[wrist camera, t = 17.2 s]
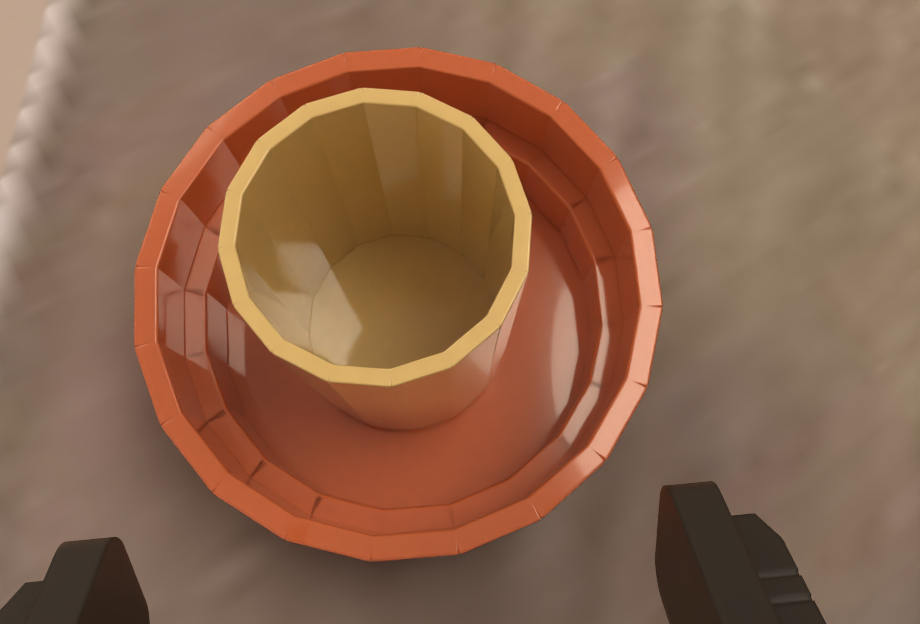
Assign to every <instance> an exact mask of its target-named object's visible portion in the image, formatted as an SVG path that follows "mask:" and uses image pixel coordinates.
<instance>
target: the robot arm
mask: <svg viewBox="0 0 920 624" xmlns="http://www.w3.org/2000/svg"><path fill="white" fill-rule="evenodd" d="M655 565H656V575H657V582H658V587H659V592H660V595H661V599H662V602H663V605H664V608H665V611H666V614H667V617H668V620H669V623H670V624H826V623H825V621H824V619H823V617H822V615H821V613H820V611H819V609H818V607H817V605H816V603H815V601H812V599H811V593H810V591H809V589H808V588H807V586H806V584H805V582H804V580H803V578H802V576H801V575H800V576H799V573H798V568H797V566H796V564H795V562H794V560H793V558H792V556H791V554H790V552H789V551H788V549H787V547H786V545H785V543H784V541H783V539H782V538H781V537H780V536H779V535H778V534H777V533H776V532H775V531H773V530H772V529H771V528H770V527H769V526H768V525H767V524H766V523H765V522H764V521H762V520H761V519H760V518H759V517H758V516H757V515H756V514H755V513H754V514H744V515H734V516H731V514H730V512H729V509H728V507H727V505H726V503H725V501H724V499H723V496H722V494H721V492H720V490H719V488H718V486H717V485H716V484H715V483H714V482H713V481H709V482H698V483H688V484H678V485H667V486H663V487H662V489H661V492H660V503H659V515H658V527H657V540H656V552H655ZM0 624H150V621H149V611H148V607H147V603H146V600H145V598H144V595H143V593H142V590H141V588H140V585H139V582H138V580H137V577H136V575H135V572H134V570H133V567H132V565H131V562H130V559H129V557H128V554H127V552H126V549H125V547H124V544H123V542H122V541H121V540H120V539H119V538H117V537H110V538H100V539H90V540H79V541H69V542H64V543H62V544H61V545H60V546H59V548H58V549H57V551H56V553H55V555H54V557H53V559H52V562H51V564H50V566H49V569H48V571H47V573H46V576H45V578H44V580H43V581H38V582H28V583H25V584H24V585H23V586H22V587H21V588H20V589H19V590H18V591H17V592H16V594H15V595H14V596H13V597H12V598H11V599H10V600H9V601H8V602H7V603H6V604H5V606H4V607H3V608H2V609H1V610H0Z"/></svg>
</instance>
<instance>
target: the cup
mask: <svg viewBox="0 0 920 624" xmlns="http://www.w3.org/2000/svg"><path fill="white" fill-rule="evenodd" d="M531 229H532V212H531V209H530V206H529V203H528V201H527V198H526V195H525V192H524V189H523V187H522V184H521V181H520V178H519V176H518V173H517V170H516V167H515V165H514V162H513V160H512V159H511V157H510V156H509V155H508V154H507V153H506V152H505V151H504V150H503V149H502V147H501V146H500V145H499V144H498V143H497V142H496V141H495V140H494V139H493V138H492V137H491V136H490V134H489V133H488V132H487V131H486V130H485V129H484V128H483V127H482V126H481V125H480V124H479V123H478V122H477V120H476V119H475V118H473V117H472V116H470V115H468V114H466V113H464V112H462V111H460V110H457V109H455V108H453V107H451V106H449V105H447V104H445V103H443V102H440V101H438V100H436V99H434V98H432V97H430V96H428V95H426V94H424V93H420V92H415V91H401V90H388V89H375V88H362V89H361V88H358V89H354V90H351V91H348V92H344V93H341V94H337V95H334V96H330V97H327V98H324V99H320V100H317V101H313V102H310V103H306V104H305V105H302V106H301V107H300V108H299V109H297V110H296V111H295V112H293V113H292V114H291V115H289V116H288V117H287V118H285V119H284V120H283V121H281V122H280V123H279V124H277V125H276V126H275V127H273V128H272V129H271V130H269V131H268V132H267V133H265V134H264V135H263V136H261V137H260V138H259V139H258V141H256V142H255V144H254V146H253V147H252V149H251V151H250V152H249V154H248V155H247V157H246V159H245V160H244V162H243V164H242V165H241V167H240V169H239V170H238V172H237V173H236V175H235V177H234V178H233V180H232V182H231V183H230V185H229V187H228V188H227V191H226V195H225V201H224V208H223V215H222V221H221V228H220V235H219V241H218V253H219V257H220V260H221V264H222V268H223V271H224V275H225V279H226V282H227V286H228V290H229V293H230V297H231V301H232V304H233V305H234V308H235V309H236V311H237V312H238V313H239V314H240V315H241V317H242V318H243V319H244V320H245V322H246V323H247V324H248V325H249V327H250V328H251V329H252V330H253V331H254V333H255V334H256V335H257V336H258V338H259V339H260V340H261V341H262V342H263V344H264V345H265V346H266V347H267V349H268V350H269V351H270V352H271V353H272V354H273V355H274V356H276V357H277V358H278V359H279V360H280V361H281V362H283V363H284V364H285V365H286V366H287V367H288V368H290V369H291V370H292V371H293V372H294V373H295V374H297V375H298V376H299V377H300V378H301V379H303V380H304V381H305V382H306V383H307V384H308V385H310V386H311V387H312V388H313V389H314V390H315V391H317V392H318V393H319V394H320V395H321V396H322V397H324V398H325V399H326V400H327V401H328V402H329V403H331V404H332V405H333V406H334V407H336V408H337V409H339V410H341V411H343V412H345V413H347V414H348V415H350V416H352V417H353V418H355V419H357V420H360V421H362V422H364V423H366V424H368V425H371V426H377V427H380V428H387V429H393V430H409V429H418V428H424V427H427V426H431V425H435V424H437V423H440V422H443V421H445V420H447V419H449V418H451V417H453V416H455V415H456V414H458V413H460V412H461V411H462V410H464V409H465V408H466V407H468V406H469V405H470V404H471V403H472V402H473V401H474V400H475V399H476V398H477V397H478V396H479V395H480V394H481V393H482V392H483V391H484V390H485V388H487V386H488V384H489V382H490V380H491V379H492V377H493V375H494V374H495V371H496V369H497V366H498V364H499V362H500V360H501V358H502V356H503V354H504V352H505V348H506V345H507V342H508V338H509V335H510V332H511V328H512V325H513V322H514V319H515V315H516V312H517V309H518V305H519V302H520V299H521V295H522V292H523V289H524V285H525V282H526V279H527V276H528V272H529V260H530V244H531Z"/></svg>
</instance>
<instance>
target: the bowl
mask: <svg viewBox="0 0 920 624" xmlns="http://www.w3.org/2000/svg"><path fill="white" fill-rule="evenodd" d="M358 88H361V89H362V88H375V89H388V90H401V91H415V92H420V93H424V94H426V95H428V96H430V97H432V98H434V99H436V100H438V101H440V102H443V103H445V104H447V105H449V106H451V107H453V108H455V109H457V110H460V111H462V112H464V113H466V114H468V115H470V116H472V117H473V118H475V119H476V120H477V122H478V123H479V124H480V125H481V126H482V127H483V128H484V129H485V130H486V131H487V132H488V133H489V134H490V136H491V137H492V138H493V139H494V140H495V141H496V142H497V143H498V144H499V145H500V146H501V147H502V149H503V150H504V151H505V152H506V153H507V154H508V155H509V156H510V157H511V159H512V160H513V162H514V165H515V167H516V170H517V173H518V176H519V178H520V181H521V184H522V187H523V189H524V192H525V195H526V198H527V201H528V203H529V206H530V209H531V212H532V229H531V244H530V260H529V272H528V276H527V279H526V282H525V285H524V289H523V292H522V295H521V299H520V302H519V305H518V309H517V312H516V315H515V319H514V322H513V325H512V328H511V332H510V335H509V338H508V342H507V345H506V348H505V352H504V354H503V356H502V358H501V360H500V362H499V364H498V366H497V369H496V371H495V374H494V375H493V377H492V379H491V380H490V382H489V384H488V386H487V388H485V390H484V391H483V392H482V393H481V394H480V395H479V396H478V397H477V398H476V399H475V400H474V401H473V402H472V403H471V404H470V405H469V406H468V407H466V408H465V409H464V410H462V411H461V412H460V413H458V414H456V415H455V416H453V417H451V418H449V419H447V420H445V421H443V422H440V423H437V424H435V425H431V426H427V427H424V428H418V429H409V430H393V429H387V428H380V427H377V426H371V425H368V424H366V423H364V422H362V421H360V420H357V419H355V418H353V417H352V416H350V415H348V414H347V413H345V412H343V411H341V410H339V409H337V408H336V407H334V406H333V405H332V404H331V403H329V402H328V401H327V400H326V399H325V398H324V397H322V396H321V395H320V394H319V393H318V392H317V391H315V390H314V389H313V388H312V387H311V386H310V385H308V384H307V383H306V382H305V381H304V380H303V379H301V378H300V377H299V376H298V375H297V374H295V373H294V372H293V371H292V370H291V369H290V368H288V367H287V366H286V365H285V364H284V363H283V362H281V361H280V360H279V359H278V358H277V357H276V356H274V355H273V354H272V353H271V352H270V351H269V350H268V349H267V347H266V346H265V345H264V344H263V342H262V341H261V340H260V339H259V338H258V336H257V335H256V334H255V333H254V331H253V330H252V329H251V328H250V327H249V325H248V324H247V323H246V322H245V320H244V319H243V318H242V317H241V315H240V314H239V313H238V312H237V311H236V309H235V308H234V305H233V304H232V301H231V297H230V293H229V290H228V286H227V282H226V279H225V275H224V271H223V268H222V264H221V260H220V257H219V253H218V241H219V235H220V228H221V221H222V215H223V208H224V201H225V195H226V191H227V188H228V187H229V185H230V183H231V182H232V180H233V178H234V177H235V175H236V173H237V172H238V170H239V169H240V167H241V165H242V164H243V162H244V160H245V159H246V157H247V155H248V154H249V152H250V151H251V149H252V147H253V146H254V144H255V142H256V141H258V139H259V138H260V137H261V136H263V135H264V134H265V133H267V132H268V131H269V130H271V129H272V128H273V127H275V126H276V125H277V124H279V123H280V122H281V121H283V120H284V119H285V118H287V117H288V116H289V115H291V114H292V113H293V112H295V111H296V110H297V109H299V108H300V107H301V106H302V105H305V104H306V103H310V102H313V101H317V100H320V99H324V98H327V97H330V96H334V95H337V94H341V93H344V92H348V91H351V90H354V89H358ZM662 306H663V302H662V295H661V287H660V280H659V273H658V265H657V258H656V251H655V243H654V236H653V230H652V229H651V225H650V222H649V220H648V218H647V216H646V214H645V212H644V210H643V208H642V206H641V204H640V202H639V200H638V198H637V196H636V194H635V192H634V190H633V188H632V186H631V184H630V182H629V179H628V177H627V175H626V173H625V171H624V169H623V167H622V165H621V163H620V161H619V160H618V159H617V156H616V155H615V154H614V153H613V152H612V151H611V150H610V149H609V148H608V147H607V146H606V145H605V144H604V143H603V141H602V140H601V139H600V138H599V137H598V136H597V135H596V134H595V133H594V132H593V131H592V130H591V129H590V128H589V127H588V126H587V125H586V124H585V123H584V122H583V121H582V120H581V119H580V117H579V116H578V115H577V114H576V113H575V112H574V111H573V110H572V109H571V108H570V107H569V106H568V105H567V104H566V103H565V102H564V103H563V101H562V100H560V99H558V98H557V97H555V96H553V95H551V94H549V93H548V92H546V91H544V90H542V89H540V88H539V87H537V86H535V85H533V84H531V83H530V82H528V81H526V80H524V79H522V78H521V77H519V76H517V75H515V74H513V73H512V72H510V71H508V70H506V69H504V68H503V67H501V66H499V65H497V66H496V64H495V63H491V62H486V61H482V60H477V59H472V58H468V57H463V56H459V55H454V54H450V53H445V52H440V51H436V50H431V49H427V48H420V47H417V48H403V49H388V50H374V51H360V52H345V53H344V55H343V54H339V55H337V56H334V57H331V58H329V59H326V60H323V61H320V62H318V63H315V64H312V65H310V66H307V67H304V68H301V69H299V70H296V71H293V72H291V73H288V74H285V75H283V76H280V77H277V78H274V79H272V80H271V81H268V82H267V83H265V84H264V85H263V86H261V87H260V88H259V89H257V90H256V91H255V92H253V93H252V94H251V95H249V96H248V97H247V98H245V99H244V100H243V101H241V102H240V103H239V104H237V105H236V106H235V107H233V108H232V109H230V110H229V111H228V112H226V113H225V114H224V115H222V116H221V117H220V118H218V119H217V120H216V121H214V122H213V123H212V124H210V125H209V126H208V128H206V129H205V130H204V131H203V133H202V134H201V136H200V137H199V138H198V140H197V141H196V142H195V144H194V145H193V146H192V148H191V149H190V151H189V152H188V153H187V155H186V156H185V157H184V159H183V160H182V161H181V163H180V164H179V165H178V167H177V168H176V170H175V171H174V172H173V174H172V175H171V176H170V178H169V179H168V180H167V182H166V183H165V185H164V186H163V187H162V189H161V192H160V194H159V197H158V199H157V202H156V205H155V208H154V211H153V214H152V217H151V220H150V223H149V226H148V229H147V232H146V235H145V238H144V241H143V244H142V247H141V250H140V253H139V256H138V259H137V261H136V267H135V304H134V346H135V347H136V348H135V352H136V355H137V358H138V361H139V364H140V367H141V370H142V373H143V376H144V379H145V382H146V385H147V388H148V391H149V394H150V397H151V400H152V403H153V406H154V409H155V412H156V415H157V418H158V421H159V424H160V425H162V429H163V430H164V431H165V433H166V434H167V435H168V437H169V438H170V439H171V440H172V442H173V443H174V444H175V446H176V447H177V448H178V450H179V451H180V452H181V453H182V455H183V456H184V457H185V459H186V460H187V461H188V462H189V464H190V465H191V466H192V468H193V469H194V470H195V471H196V473H197V474H198V475H199V477H200V478H201V479H202V481H203V482H204V483H205V484H206V486H207V487H208V488H209V490H210V491H212V492H213V493H214V495H216V496H217V497H219V498H220V499H222V500H223V501H225V502H226V503H228V504H229V505H231V506H233V507H234V508H236V509H237V510H239V511H240V512H242V513H243V514H245V515H246V516H248V517H249V518H251V519H253V520H254V521H256V522H257V523H259V524H260V525H262V526H263V527H265V528H266V529H268V530H269V531H271V532H273V533H274V534H276V535H277V536H279V537H280V538H282V539H286V541H289V542H293V543H297V544H301V545H305V546H309V547H313V548H317V549H321V550H325V551H329V552H333V553H337V554H341V555H345V556H349V557H353V558H357V559H361V560H365V561H371V560H372V561H373V562H377V561H390V560H402V559H414V558H426V557H438V556H450V555H458V554H459V553H460V554H463V553H465V552H467V551H470V550H472V549H474V548H477V547H479V546H481V545H484V544H486V543H488V542H491V541H493V540H495V539H498V538H500V537H502V536H505V535H507V534H509V533H511V532H514V531H516V530H518V529H521V528H523V527H525V526H528V525H530V524H532V523H535V522H537V521H539V520H540V518H544V517H545V516H546V515H547V514H548V513H549V512H550V511H551V510H553V509H554V508H555V507H556V506H557V505H558V504H559V503H560V502H562V501H563V500H564V499H565V498H566V497H567V496H568V495H569V494H570V493H572V492H573V491H574V490H575V489H576V488H577V487H578V486H579V485H580V484H582V483H583V482H584V481H585V480H586V479H587V478H588V477H589V476H590V475H592V474H593V473H594V472H595V471H596V470H597V469H598V468H599V467H601V466H602V465H603V464H604V462H605V460H607V459H608V457H609V456H610V454H611V452H612V450H613V448H614V447H615V445H616V443H617V441H618V440H619V438H620V436H621V434H622V433H623V431H624V429H625V427H626V425H627V424H628V422H629V420H630V418H631V417H632V415H633V413H634V411H635V410H636V408H637V406H638V404H639V402H640V401H641V399H642V397H643V395H644V394H645V392H646V389H647V388H646V387H647V386H648V384H649V379H650V373H651V368H652V363H653V358H654V352H655V347H656V342H657V337H658V331H659V326H660V321H661V316H662V308H661V307H662Z"/></svg>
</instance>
